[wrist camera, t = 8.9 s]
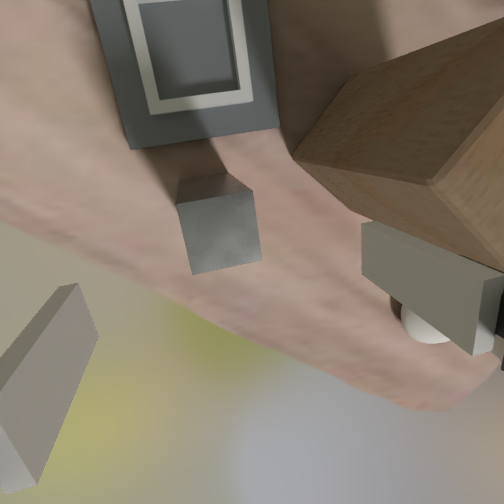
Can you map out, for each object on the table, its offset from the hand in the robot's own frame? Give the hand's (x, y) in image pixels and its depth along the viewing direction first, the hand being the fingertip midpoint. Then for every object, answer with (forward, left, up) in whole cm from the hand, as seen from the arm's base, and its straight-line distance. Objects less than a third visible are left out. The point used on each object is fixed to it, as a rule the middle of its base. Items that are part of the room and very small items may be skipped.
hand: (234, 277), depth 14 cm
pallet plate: (-1, -13, -19) cm, 23 cm away
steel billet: (0, 0, -19) cm, 19 cm away
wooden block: (-16, -3, -19) cm, 25 cm away
